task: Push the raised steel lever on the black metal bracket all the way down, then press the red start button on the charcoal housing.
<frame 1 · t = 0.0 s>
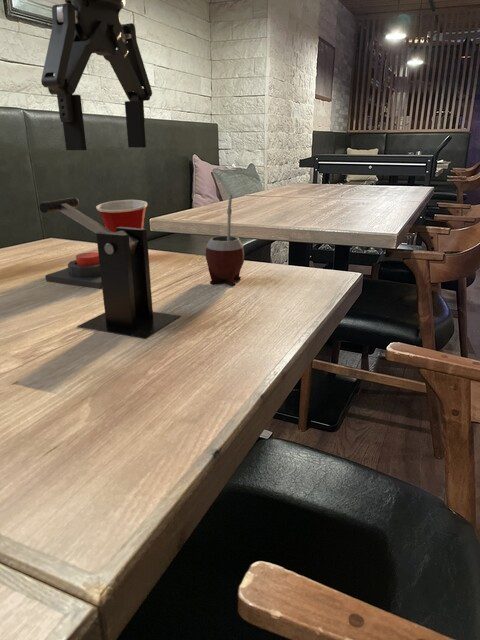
hand: (109, 149, 70), 24 cm above the table, tool pointing down, fingers open, 13 cm apart
plastic cup: (126, 258, 109), on the table
lever: (92, 225, 66), point 14 cm above the table, hinge at 25.0°
bracket: (130, 328, 69), on the table
button box: (91, 283, 91), on the table
mate gourd: (225, 281, 92), on the table
start button: (89, 259, 89), point 4 cm above the table, slide at 0.1 cm
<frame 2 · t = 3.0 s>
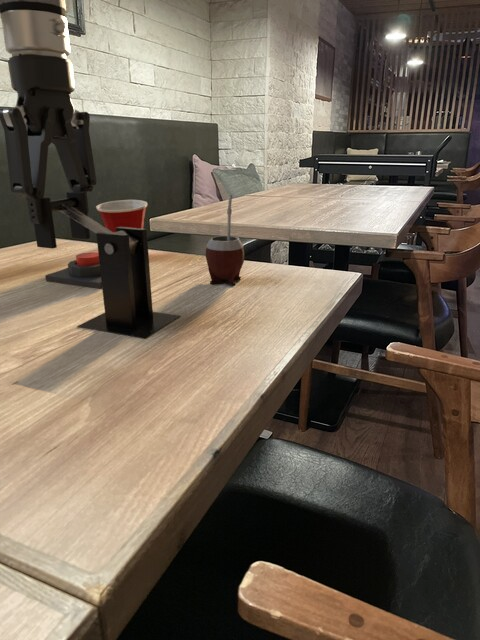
hand: (64, 242, 69), 12 cm above the table, tool pointing down, fingers closed on lever, 6 cm apart
lever: (92, 225, 66), point 14 cm above the table, hinge at 25.0°, touching gripper
everything else where it was.
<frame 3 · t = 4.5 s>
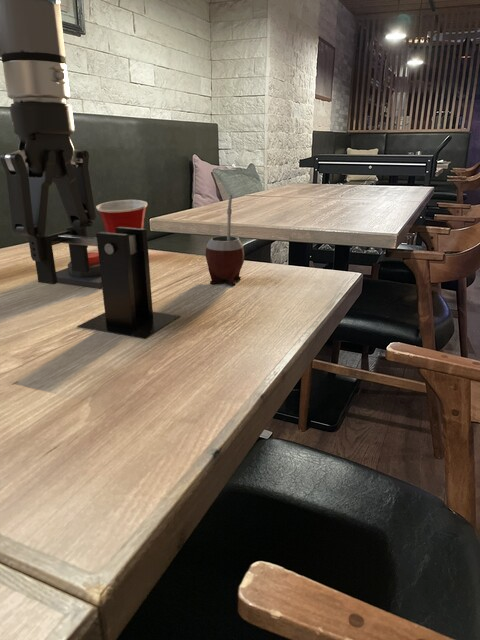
hand: (65, 276, 71), 6 cm above the table, tool pointing down, fingers closed on lever, 6 cm apart
lever: (91, 241, 67), point 12 cm above the table, hinge at 0.0°, touching gripper
everything else where it was.
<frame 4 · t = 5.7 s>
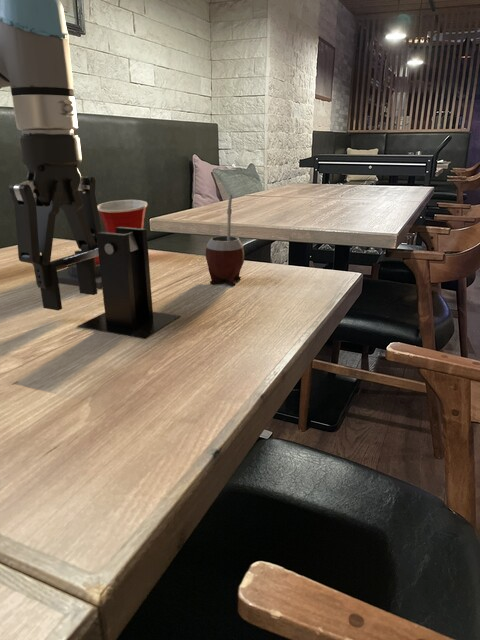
hand: (71, 300, 72), 3 cm above the table, tool pointing down, fingers open, 7 cm apart
lever: (94, 253, 67), point 10 cm above the table, hinge at -18.2°
everything else where it was.
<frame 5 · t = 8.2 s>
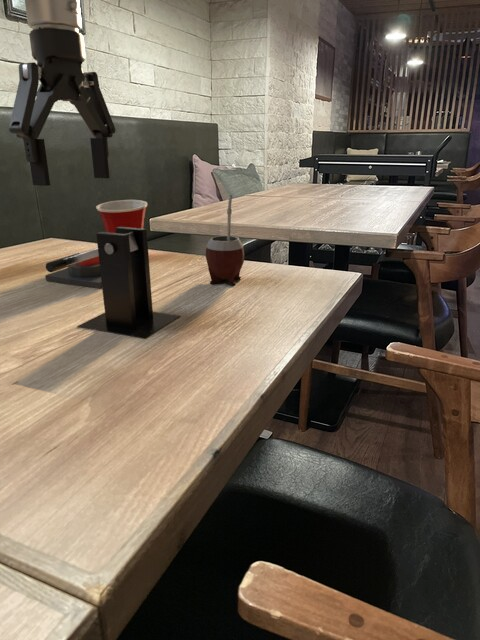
hand: (74, 181, 79), 19 cm above the table, tool pointing down, fingers open, 13 cm apart
nothing on the table moved.
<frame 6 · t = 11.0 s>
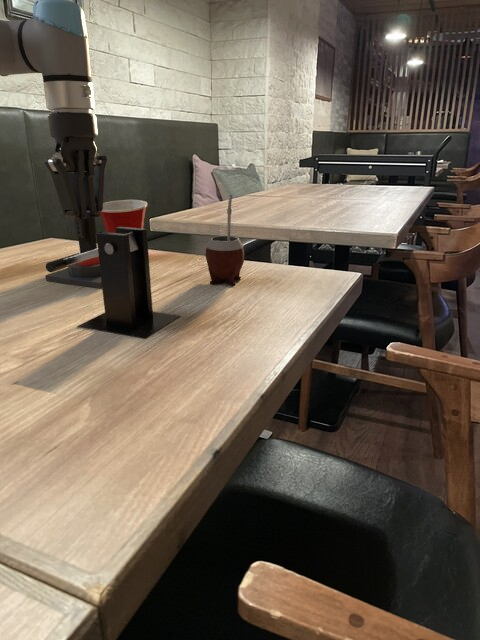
hand: (89, 254, 89), 6 cm above the table, tool pointing down, fingers closed
start button: (89, 260, 89), point 4 cm above the table, slide at 0.0 cm, touching gripper
everything else where it was.
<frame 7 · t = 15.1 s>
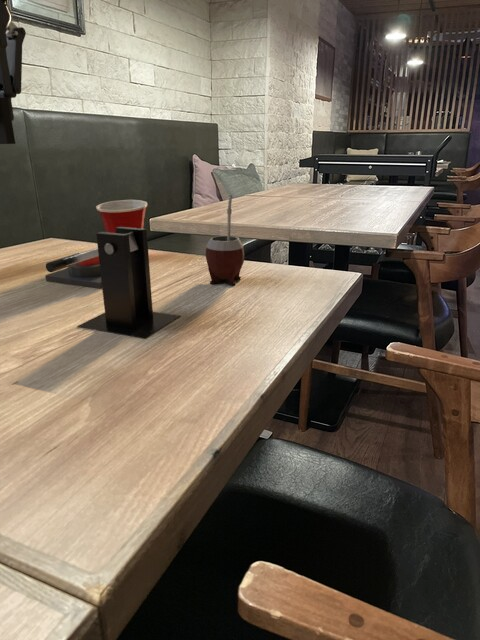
hand: (5, 143, 76), 24 cm above the table, tool pointing down, fingers closed
start button: (89, 259, 89), point 4 cm above the table, slide at 0.1 cm
everything else where it was.
at the end: lever at -18° (first picture: +25°); start button pushed in 1.0 cm at the most during the clip, back to where it started at the end; start button slide at 0.1 cm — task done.
